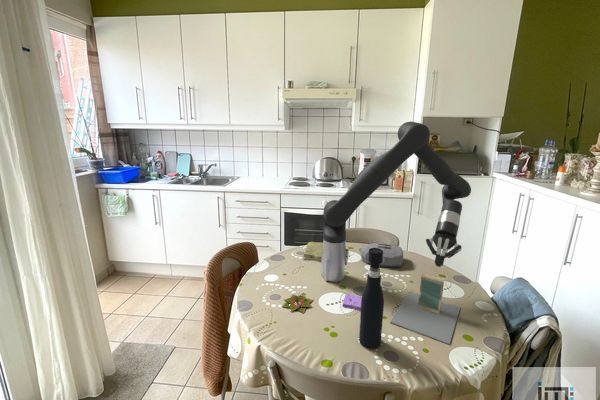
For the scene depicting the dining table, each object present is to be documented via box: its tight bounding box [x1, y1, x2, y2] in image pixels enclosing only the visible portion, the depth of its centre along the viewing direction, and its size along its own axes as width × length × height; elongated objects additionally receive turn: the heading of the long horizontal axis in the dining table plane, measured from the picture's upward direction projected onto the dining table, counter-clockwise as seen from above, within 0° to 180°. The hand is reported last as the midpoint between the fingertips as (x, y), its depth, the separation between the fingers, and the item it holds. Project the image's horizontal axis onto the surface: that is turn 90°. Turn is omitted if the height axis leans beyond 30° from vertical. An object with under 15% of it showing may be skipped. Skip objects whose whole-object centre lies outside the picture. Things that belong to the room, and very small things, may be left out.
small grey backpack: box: [359, 242, 404, 268], centre depth 143 cm, size 15×8×20 cm
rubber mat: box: [389, 291, 461, 346], centre depth 104 cm, size 22×18×1 cm
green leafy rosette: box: [281, 292, 314, 314], centre depth 110 cm, size 12×12×5 cm
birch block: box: [418, 273, 445, 314], centre depth 105 cm, size 3×7×12 cm, turn 55°
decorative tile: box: [302, 241, 347, 263], centre depth 151 cm, size 19×20×4 cm
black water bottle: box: [358, 248, 385, 350], centre depth 88 cm, size 6×6×30 cm
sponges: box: [342, 293, 362, 311], centre depth 110 cm, size 7×13×2 cm, turn 70°
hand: (438, 265), depth 111 cm, fingers closed
